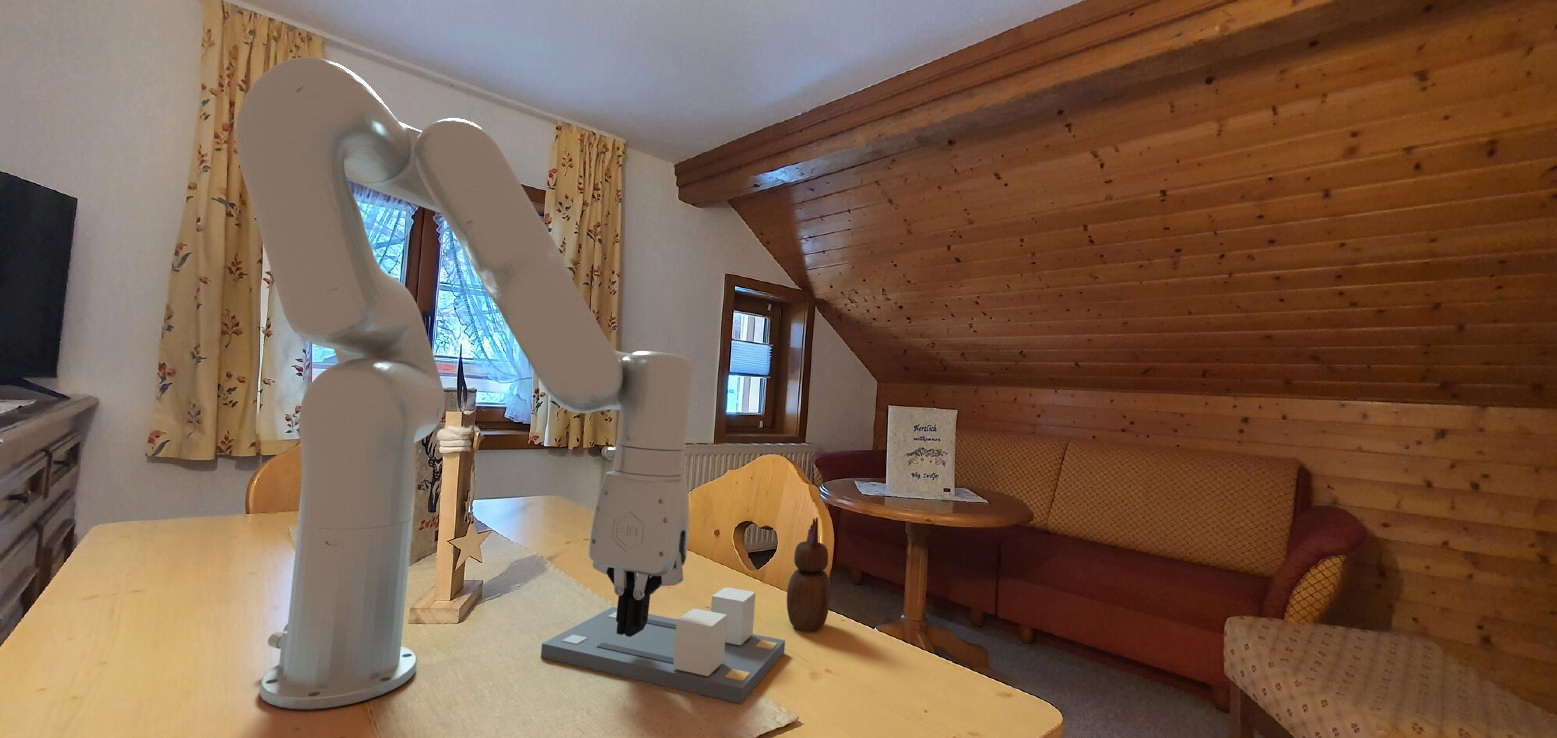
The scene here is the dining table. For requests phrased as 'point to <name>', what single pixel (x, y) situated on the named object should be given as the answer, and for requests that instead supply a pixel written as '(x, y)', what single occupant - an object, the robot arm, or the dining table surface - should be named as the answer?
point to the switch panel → (662, 656)
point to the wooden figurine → (809, 584)
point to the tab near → (700, 641)
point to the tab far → (735, 613)
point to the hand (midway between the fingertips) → (630, 631)
